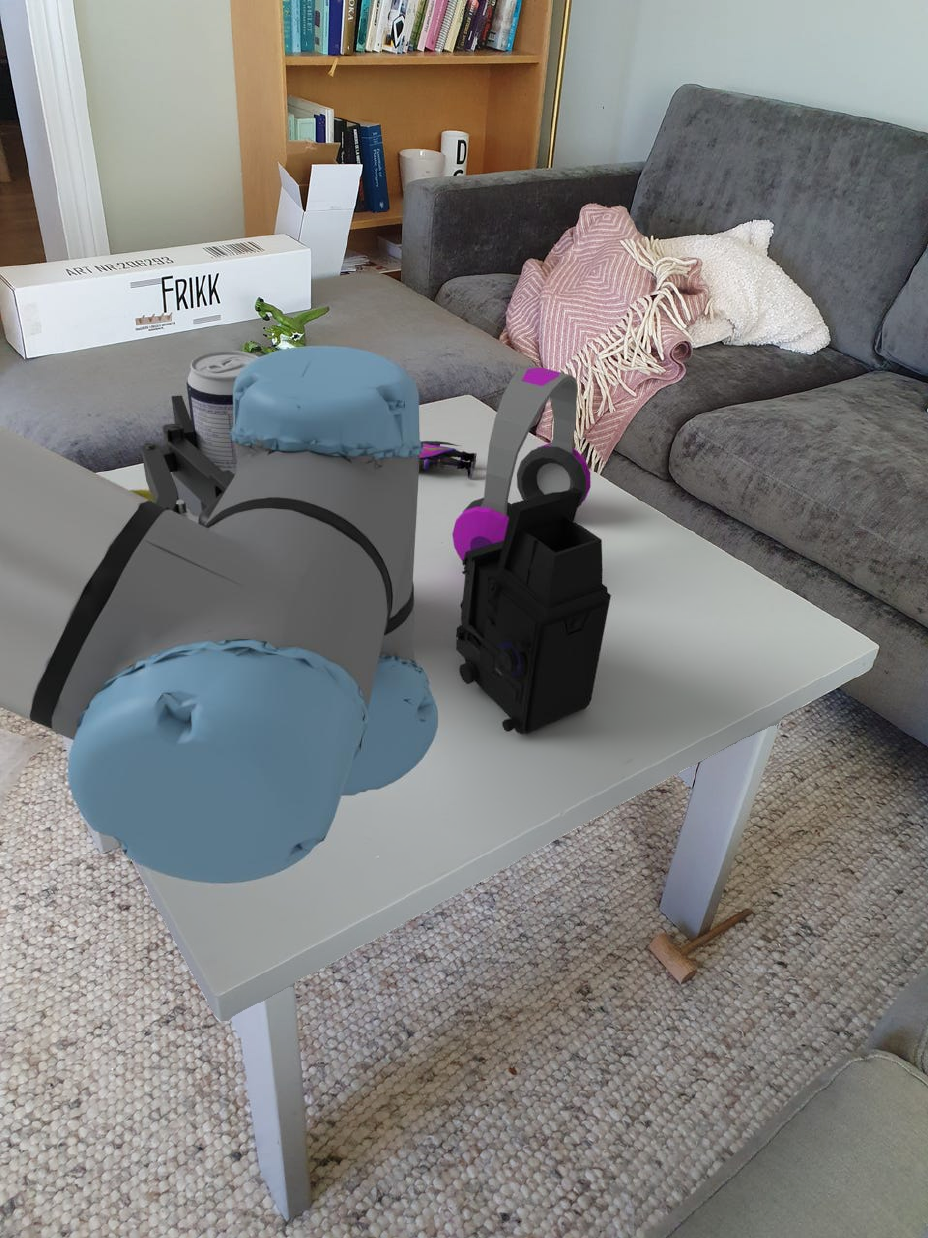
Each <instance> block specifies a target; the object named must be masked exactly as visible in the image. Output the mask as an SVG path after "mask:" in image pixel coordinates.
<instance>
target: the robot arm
mask: <svg viewBox="0 0 928 1238" xmlns="http://www.w3.org/2000/svg"><path fill="white" fill-rule="evenodd" d="M258 357H259V358H257V359H255V360H254V361H252V362H251V363H249V364H248V365H247V366H246V367H245V368H243V369H242V370H241V372H240V373H239V375H238V376H237V378H236V380H235V383H234V388H233V428H232V429H231V431H230V438H231V440H232V441H234V446H235V451H236V456H237V466H236V473H235V475H234V474H233V473H232V472H231V471H230V470H226V471H222V470H221V469H220V468H219V467H218V466H216V465H215V464H214V463H213V462H212V461H211V460H210V459H208V458H207V457H206V456H205V455H204V454H203V453H202V452H201V451H199V450H198V449H197V446H196V438H195V431H194V428H193V426H192V424H191V417H190V413H189V412H188V409H187V406H186V403H185V400H184V397H183V395H182V394H181V395H171V404H172V411H173V412H172V413H173V420H174V423H168V424H164V425H163V427H162V434H163V440H164V445H163V446H161V445H160V444H158V443H154V442H148V443H144V444H143V445H141V447H140V450H141V456H142V463H143V470H144V476H145V482H146V484H147V487H148V489H149V490H150V493H151V496H152V499H153V501H154V502H152V501H150V500H148V499H146V498H144V497H142V496H140V495H138V494H136V493H134V492H132V491H130V490H131V489H129V488H126V487H124V486H121V485H120V484H118V483H116V482H113V481H111V480H110V479H107V478H106V477H104V476H102V475H99V474H98V473H96V472H94V471H92V470H90V469H88V468H86V467H83V466H82V465H80V464H78V463H76V462H74V461H72V460H70V459H68V458H66V457H64V456H62V455H60V454H58V453H56V452H54V451H52V450H50V449H48V448H46V447H44V446H42V445H40V444H38V443H36V442H34V441H32V440H30V439H28V438H26V437H24V436H22V435H21V434H18V433H16V432H14V431H12V430H10V429H9V428H6V427H4V426H3V425H0V708H1V709H3V710H6V711H8V712H11V713H13V714H15V715H17V716H20V717H22V718H24V719H26V720H28V721H29V720H30V721H32V722H33V723H35V724H38V725H41V726H43V727H46V728H48V729H50V730H51V732H53V733H56V734H58V735H59V736H62V737H65V738H67V739H69V740H72V744H71V747H70V750H69V753H68V759H67V760H68V761H67V779H68V785H69V789H70V792H71V795H72V798H73V800H74V802H75V804H76V806H77V809H78V811H79V813H80V814H81V817H83V819H84V821H85V822H86V823H87V824H88V825H89V826H90V828H91V829H92V831H94V832H98V833H99V834H101V835H103V836H107V837H113V838H114V839H115V840H116V841H117V842H118V843H119V844H120V845H121V849H122V852H123V855H124V856H126V857H127V858H128V859H130V860H131V861H133V862H134V863H136V864H138V865H140V866H142V867H145V868H147V869H149V870H152V871H155V872H157V873H159V874H162V875H165V876H168V877H173V878H176V879H180V880H185V881H189V882H190V881H191V882H195V883H205V884H239V883H246V882H251V881H256V880H260V879H264V878H266V877H270V876H274V875H276V874H278V873H280V872H282V871H285V870H288V869H289V868H290V867H292V866H294V865H296V864H297V863H298V862H300V861H302V860H303V859H304V858H305V857H307V856H308V855H310V853H311V852H312V850H313V849H314V848H315V847H316V846H318V845H319V844H320V843H322V842H324V841H325V839H326V838H327V836H328V833H329V831H330V829H331V826H332V825H333V822H334V820H335V817H336V814H337V811H338V808H339V805H340V801H341V798H342V797H348V796H349V797H350V796H351V797H352V796H356V795H358V794H360V793H366V792H367V791H373V790H375V791H378V790H380V789H383V788H385V787H388V786H389V785H392V784H394V783H395V782H397V781H398V780H400V779H402V778H403V777H404V776H406V775H407V774H408V773H410V772H411V771H412V770H414V768H415V767H416V766H417V765H418V764H419V763H420V762H421V761H423V759H424V757H425V756H426V754H427V753H428V751H429V750H430V748H431V747H432V745H433V742H434V740H435V738H436V736H437V730H438V726H439V711H438V706H437V703H436V700H435V697H434V696H433V693H432V690H431V689H430V679H429V677H428V675H427V673H426V671H425V670H424V668H423V667H421V665H419V664H418V663H417V660H416V657H415V652H414V651H415V650H414V622H415V621H414V620H415V585H414V567H415V549H416V548H415V547H416V532H417V530H416V529H417V513H418V496H419V494H418V493H419V477H420V476H419V474H420V468H419V458H420V453H421V454H422V452H423V447H424V446H423V444H422V443H421V442H422V441H421V440H420V439H421V437H420V436H421V435H420V433H421V432H420V396H419V390H418V389H419V388H418V387H417V383H416V382H415V380H414V378H413V377H412V375H411V374H410V373H409V372H408V371H407V370H406V368H404V367H403V366H401V365H400V364H398V363H397V362H395V361H393V360H391V359H390V358H388V357H385V356H383V355H381V354H378V353H375V352H371V351H368V350H365V349H364V350H363V349H359V348H354V347H347V346H336V345H307V346H299V347H297V346H296V347H290V348H289V347H288V348H284V349H280V350H276V351H273V352H269V353H266V354H263V355H260V356H258ZM171 473H173V475H174V476H175V477H177V478H178V479H179V480H180V481H181V482H182V483H183V484H184V485H185V486H186V487H187V488H188V489H189V490H190V491H191V492H192V493H193V494H194V495H195V496H196V497H198V498H199V499H200V500H201V501H202V502H203V503H204V504H205V505H206V506H207V507H206V508H205V509H204V510H203V511H202V512H201V514H200V516H195V515H193V514H192V511H191V510H190V509H189V508H186V504H185V501H184V500H179V497H178V491H177V488H176V485H175V483H174V480H173V478H172V475H171Z"/></svg>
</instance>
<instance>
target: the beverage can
mask: <svg viewBox="0 0 928 1238" xmlns="http://www.w3.org/2000/svg"><path fill="white" fill-rule="evenodd" d="M259 357H260V356H258V355H256V354H253V353H251V352H246V351H240V350H218V351H211V352H206V353H203V354H200V355H198V356H196V357H195V358H193V359H192V360H191V362H190V372H189V374H188V377H187V379H186V390H187V399H188V407H189V417H190V420H191V424H192V426H193V428H194V431H195V438H196V446H197V449H198V450H199V451H201V452H202V453H203V454H204V455H205V456H206V457H207V458H208V459H210V460H211V461H212V462H213V463H214V464H215V465H216V466H218V467H219V468H220V469H221V470H222V471H226V470H230V471H231V472H232V473H233V474H234V475H235V473H236V466H237V456H236V451H235V446H234V441H232V440H231V438H230V431H231V429H232V428H233V388H234V383H235V380H236V378H237V376H238V375H239V373H240V372H241V370H242V369H243V368H245V367H246V366H247V365H248V364H249V363H251V362H252V361H254V360H255V359H257V358H259ZM206 507H207V506H206V505H205V504H204V503H203V502H202V501H201V508H202V511H203V510H204V509H205V508H206Z"/></svg>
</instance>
